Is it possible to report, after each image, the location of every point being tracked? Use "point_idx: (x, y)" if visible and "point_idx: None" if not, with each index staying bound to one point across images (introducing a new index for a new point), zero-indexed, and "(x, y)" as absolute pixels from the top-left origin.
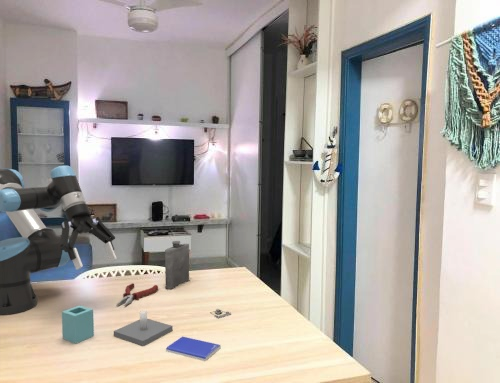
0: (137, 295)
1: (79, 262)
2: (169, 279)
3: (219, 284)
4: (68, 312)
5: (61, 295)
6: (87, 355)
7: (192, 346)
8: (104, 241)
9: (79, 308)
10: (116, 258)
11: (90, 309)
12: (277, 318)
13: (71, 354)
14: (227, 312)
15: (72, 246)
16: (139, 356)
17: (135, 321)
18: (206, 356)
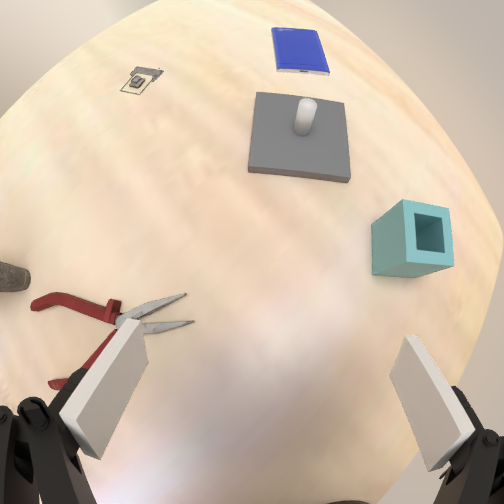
0: (113, 300)
1: (427, 352)
2: (10, 267)
3: None
4: (448, 244)
5: None
6: (421, 174)
7: (301, 46)
8: (78, 470)
9: (415, 248)
10: (128, 319)
11: (407, 205)
12: (137, 27)
13: (435, 203)
14: (135, 71)
15: (484, 440)
16: (368, 99)
17: (280, 167)
18: (313, 30)
